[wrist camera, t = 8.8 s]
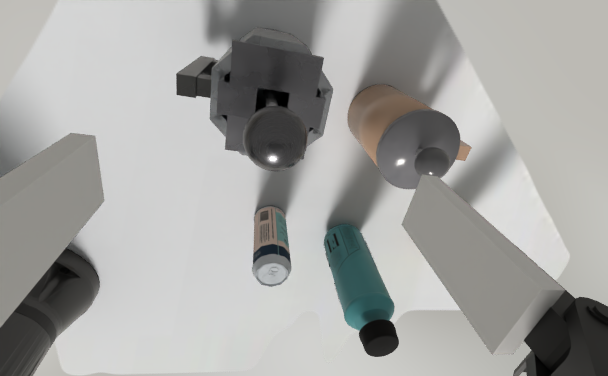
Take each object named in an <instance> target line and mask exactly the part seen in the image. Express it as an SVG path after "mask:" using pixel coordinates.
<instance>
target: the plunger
mask: <svg viewBox="0 0 608 376" xmlns="http://www.w3.org/2000/svg"><path fill="white" fill-rule="evenodd" d="M288 96H289V93H288V92H282V91H276V90H270V89H264V88H258V89H257V98H256V107H255V108H257V109H260V110H258V111H257V112H255V113H254V114H253V115H252V116H251V117H250V118H249V120H248V121H247V123H246V125H245V128H244V131H243V145H244V149H245V151H246V153H247V155H248V157H249V158H250V159H251V160H252V161H253V162H254V163H255V164H256V165H257V166H259V167H261V168H263V169H266V170H269V171H282V170H286V169H288V168H291V167H292V166H294V165H295V164H296V163H298V162H299V160H300V159H301V158H302V156H303V155H304V153H305V151H306V147H307V142H308V136H307V131H306V127H305V125H304V123H303V121H302V120H301V118H300V117H299V116H298V115H297V114H296V113H294V112H293V111H292V110H290V109H288V108H285V107H286V106H287V103H288Z"/></svg>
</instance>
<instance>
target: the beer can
mask: <svg viewBox="0 0 608 376" xmlns="http://www.w3.org/2000/svg"><path fill="white" fill-rule="evenodd" d="M252 272H253V275H254V276H255V277H256V279H257V280H258V281H259V282H260V284H261V285H265V286H269V287H273V286H277V285H281V284H282V283H283V282H284V281H285V280H286V279H287V277H288V276H289V274H290V272H291V261H290V253H289V244H288V236H287V227H286V219H285V214H284V213H283V211H282V210H280V209H279V208H277V207H273V206H268V207H264V208H262V209H260V210H259V211H257V213H256V214H255V216H254V254H253V267H252Z"/></svg>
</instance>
